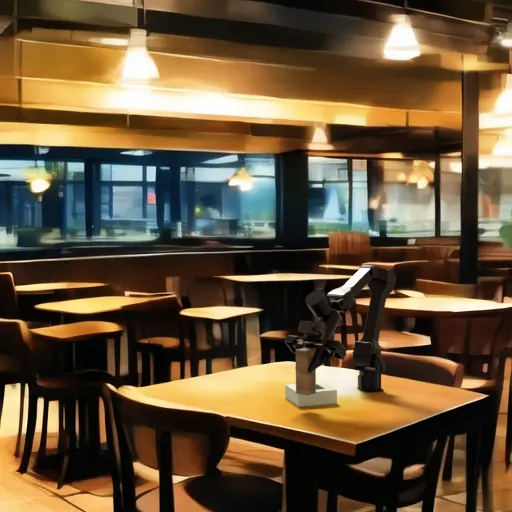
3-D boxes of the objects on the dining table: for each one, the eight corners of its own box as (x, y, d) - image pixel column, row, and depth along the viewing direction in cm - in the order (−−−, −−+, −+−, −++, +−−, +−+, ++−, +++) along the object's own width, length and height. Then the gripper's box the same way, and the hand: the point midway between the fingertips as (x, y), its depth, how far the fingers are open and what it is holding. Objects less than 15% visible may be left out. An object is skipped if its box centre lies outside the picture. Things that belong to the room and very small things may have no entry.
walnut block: (304, 391, 212) (304, 347, 212) (315, 393, 210) (315, 349, 209) (296, 393, 209) (295, 349, 209) (307, 395, 207) (306, 351, 206)
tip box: (322, 394, 228) (322, 381, 228) (337, 403, 217) (336, 390, 216) (285, 397, 225) (285, 384, 225) (298, 406, 213) (298, 393, 213)
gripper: (287, 307, 218) (264, 350, 210) (340, 312, 205) (317, 357, 198) (304, 331, 224) (281, 373, 216) (356, 336, 212) (334, 381, 204)
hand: (302, 370), depth 208 cm, fingers closed on walnut block, 4 cm apart
